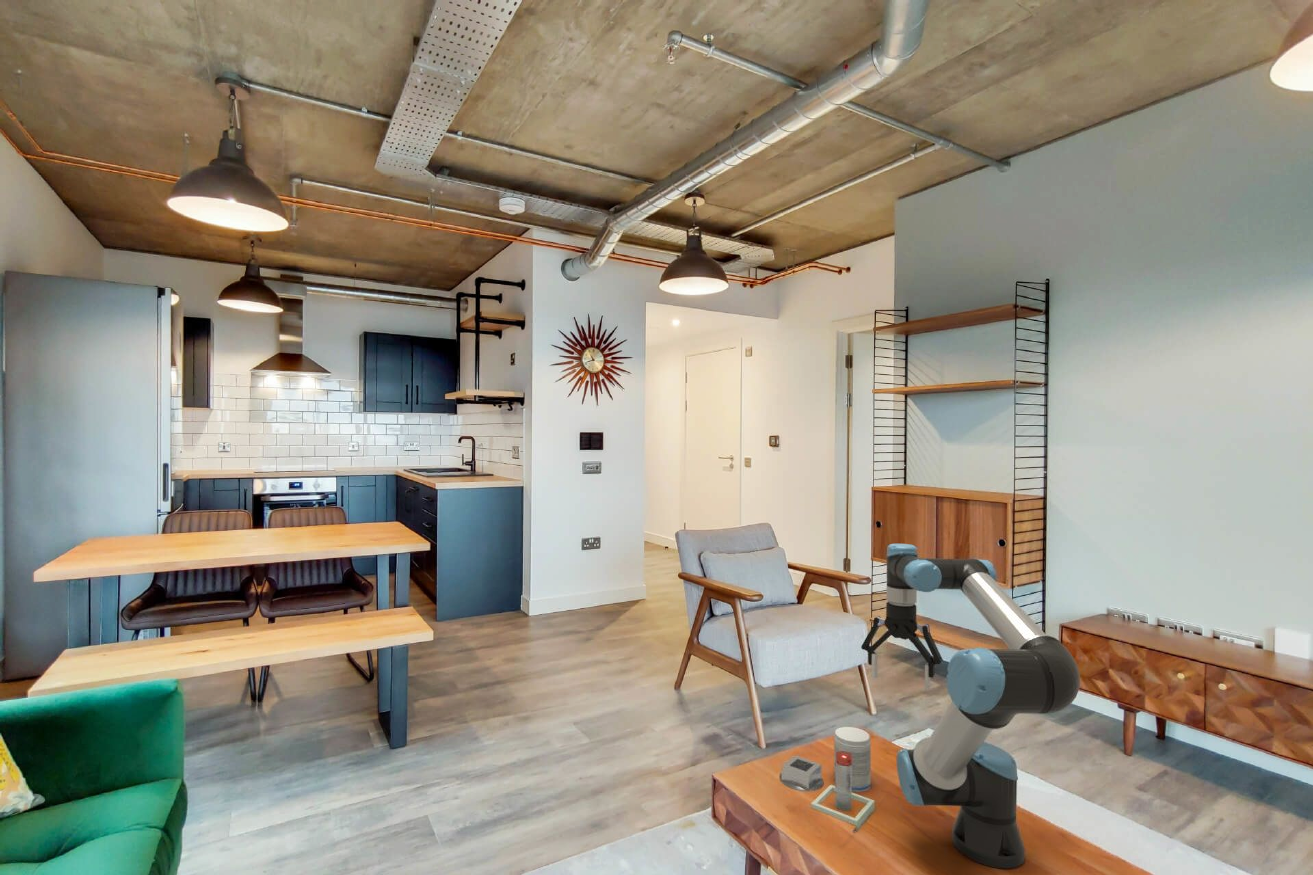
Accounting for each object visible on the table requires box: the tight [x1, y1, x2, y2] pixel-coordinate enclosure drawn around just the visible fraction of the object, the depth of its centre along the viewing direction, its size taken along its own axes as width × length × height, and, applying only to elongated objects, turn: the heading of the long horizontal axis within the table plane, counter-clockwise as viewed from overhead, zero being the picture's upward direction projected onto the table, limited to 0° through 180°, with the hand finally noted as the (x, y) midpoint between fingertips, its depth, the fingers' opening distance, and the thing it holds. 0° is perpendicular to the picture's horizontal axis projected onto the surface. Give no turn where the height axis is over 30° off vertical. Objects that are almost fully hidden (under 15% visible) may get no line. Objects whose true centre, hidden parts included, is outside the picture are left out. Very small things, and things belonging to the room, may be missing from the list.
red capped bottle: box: [834, 751, 853, 812], centre depth 165 cm, size 4×4×14 cm
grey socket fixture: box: [778, 755, 825, 793], centre depth 177 cm, size 12×12×6 cm
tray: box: [810, 784, 876, 832], centre depth 165 cm, size 12×12×2 cm
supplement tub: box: [833, 726, 872, 792], centre depth 177 cm, size 10×10×15 cm
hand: (900, 683), depth 170 cm, fingers open, 13 cm apart
